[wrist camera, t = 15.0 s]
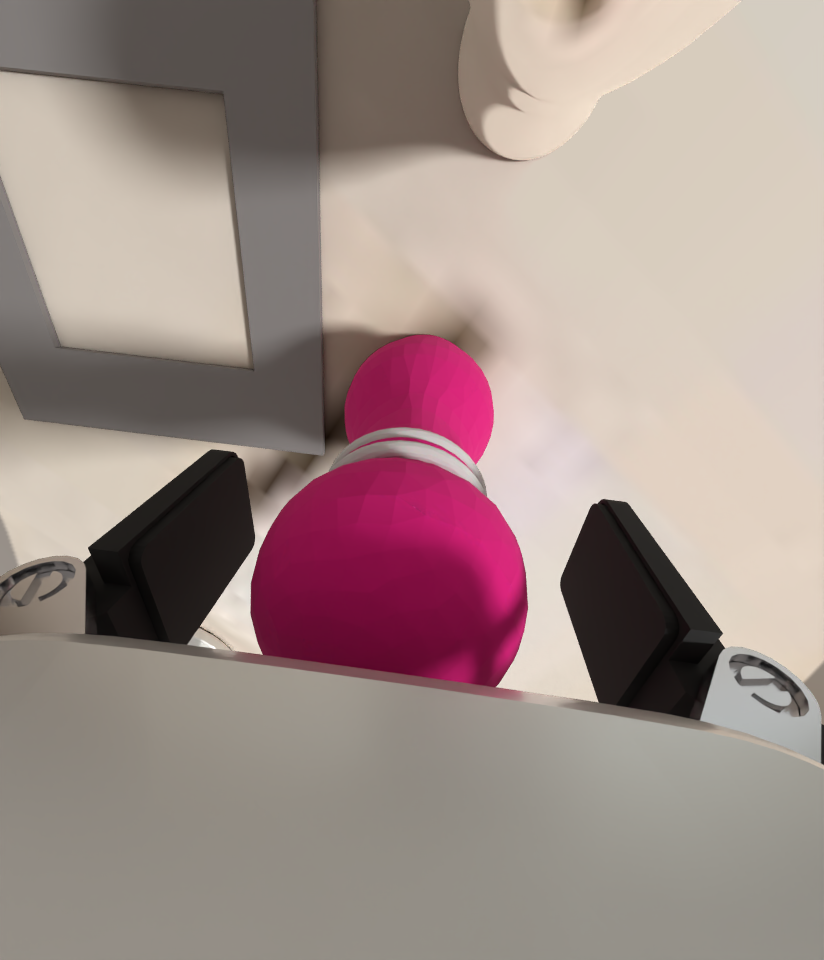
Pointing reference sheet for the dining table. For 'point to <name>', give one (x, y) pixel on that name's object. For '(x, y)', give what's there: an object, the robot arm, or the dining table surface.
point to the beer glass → (563, 62)
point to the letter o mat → (260, 213)
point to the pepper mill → (399, 533)
